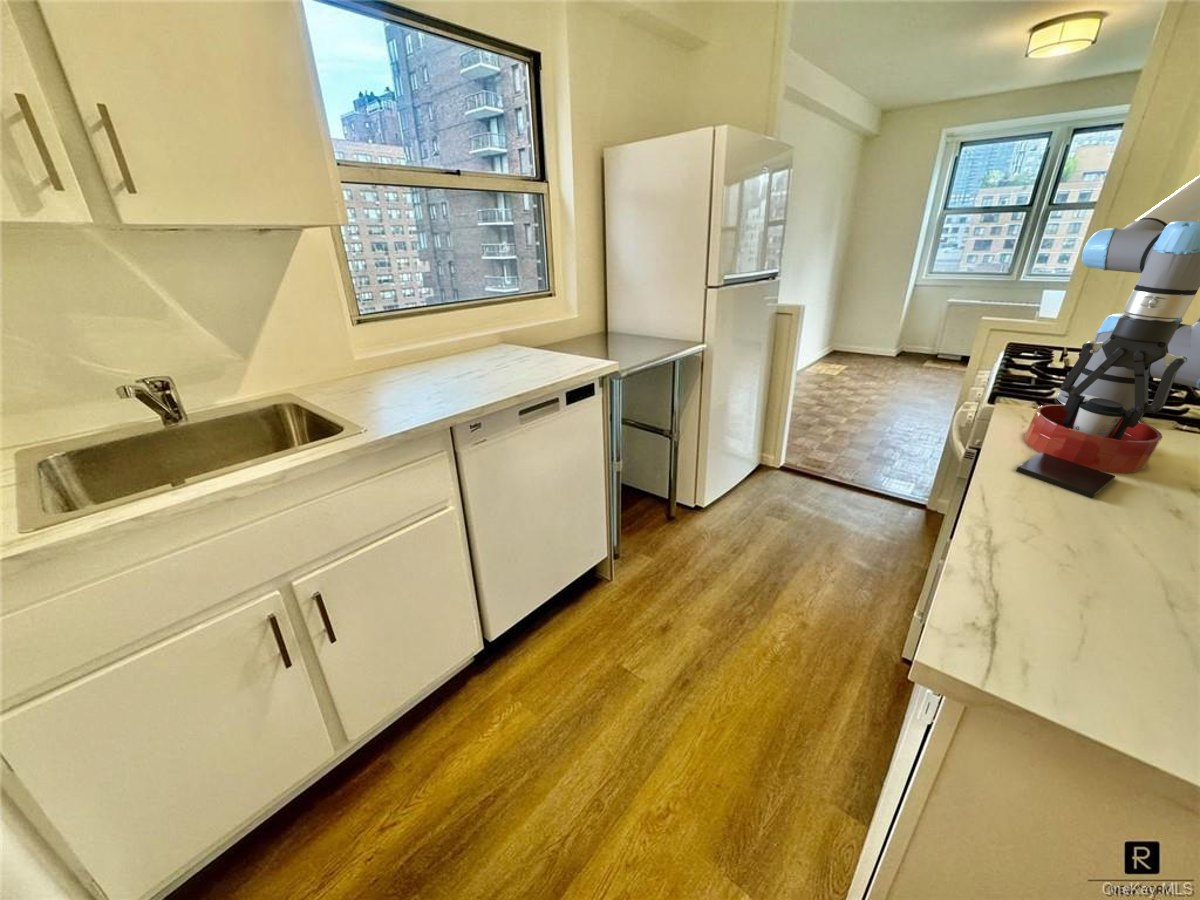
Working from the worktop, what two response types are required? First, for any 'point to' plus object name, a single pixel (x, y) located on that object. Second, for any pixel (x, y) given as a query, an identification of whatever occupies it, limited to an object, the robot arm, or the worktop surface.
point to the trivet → (1066, 474)
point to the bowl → (1091, 442)
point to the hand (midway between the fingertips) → (1090, 433)
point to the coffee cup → (1099, 417)
